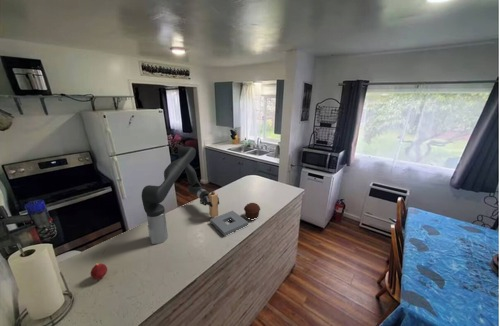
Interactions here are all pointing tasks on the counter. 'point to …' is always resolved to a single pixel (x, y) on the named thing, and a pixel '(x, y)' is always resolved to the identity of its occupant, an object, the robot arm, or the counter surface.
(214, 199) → the plug
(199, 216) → the counter surface
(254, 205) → the muffin
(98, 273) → the onion
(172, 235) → the counter surface
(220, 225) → the socket
